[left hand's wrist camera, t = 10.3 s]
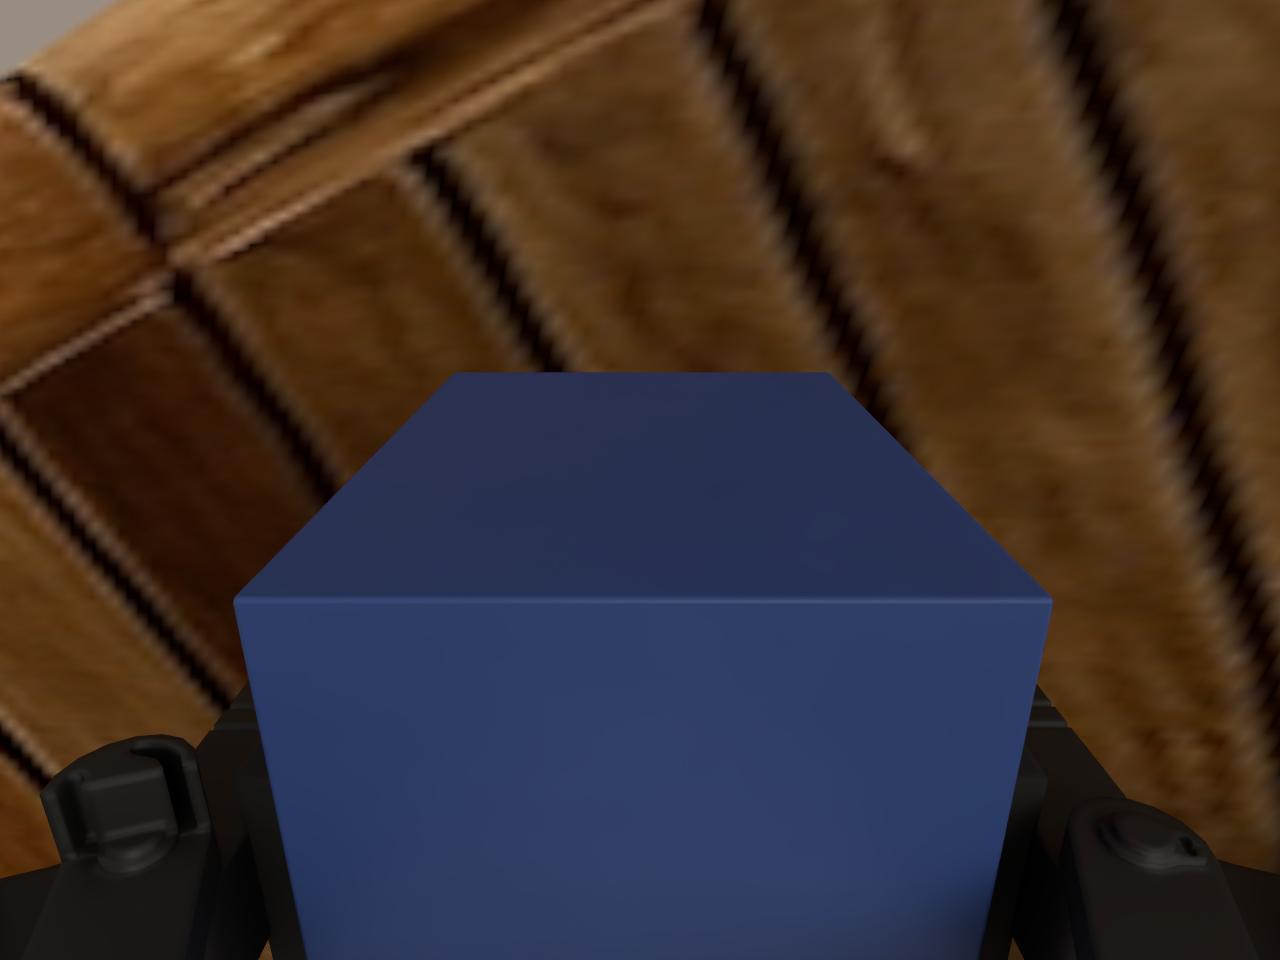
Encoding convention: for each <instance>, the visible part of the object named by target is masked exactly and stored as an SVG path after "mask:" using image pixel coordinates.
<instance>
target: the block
mask: <svg viewBox="0 0 1280 960" xmlns="http://www.w3.org/2000/svg"><path fill="white" fill-rule="evenodd" d="M233 604H234V608H235V613H236V618H237V623H238V628H239V633H240V638H241V643H242V648H243V652H244V657H245V662H246V667H247V672H248V677H249V682H250V687H251V691H252V696H253V701H254V706H255V711H256V716H257V721H258V726H259V730H260V735H261V740H262V745H263V750H264V755H265V760H266V765H267V770H268V774H269V779H270V784H271V789H272V794H273V799H274V804H275V809H276V813H277V818H278V823H279V828H280V833H281V838H282V843H283V848H284V853H285V857H286V862H287V867H288V872H289V877H290V882H291V887H292V892H293V896H294V901H295V906H296V911H297V916H298V921H299V926H300V931H301V935H302V940H303V945H304V950H305V955H306V960H979V957H980V952H981V947H982V942H983V937H984V933H985V928H986V923H987V918H988V913H989V909H990V904H991V899H992V894H993V889H994V885H995V880H996V875H997V870H998V865H999V861H1000V856H1001V851H1002V846H1003V841H1004V837H1005V832H1006V827H1007V822H1008V817H1009V813H1010V808H1011V803H1012V798H1013V793H1014V789H1015V784H1016V779H1017V774H1018V769H1019V765H1020V760H1021V755H1022V750H1023V745H1024V741H1025V736H1026V731H1027V726H1028V721H1029V717H1030V712H1031V707H1032V702H1033V697H1034V693H1035V688H1036V683H1037V678H1038V673H1039V669H1040V664H1041V659H1042V654H1043V649H1044V645H1045V640H1046V635H1047V630H1048V625H1049V621H1050V616H1051V611H1052V606H1053V600H1052V597H1051V596H1050V595H1049V594H1048V593H1047V592H1046V591H1045V590H1044V589H1043V588H1042V587H1041V586H1040V585H1039V584H1038V583H1037V582H1036V581H1035V580H1034V579H1033V578H1032V577H1031V576H1030V575H1029V574H1028V573H1027V572H1026V571H1025V570H1024V569H1023V568H1022V567H1021V566H1020V565H1019V564H1018V563H1017V562H1016V561H1015V560H1014V559H1013V558H1012V557H1011V556H1010V555H1009V554H1008V553H1007V552H1006V551H1005V550H1004V549H1003V548H1002V547H1001V546H1000V545H999V544H998V543H997V542H996V541H995V540H994V539H993V538H992V537H991V536H990V535H989V534H988V533H987V532H986V531H985V530H984V529H983V528H982V527H981V526H980V525H979V524H978V523H977V521H976V520H975V519H974V518H973V517H972V516H971V515H970V514H969V513H968V512H967V511H966V510H965V509H964V508H963V507H962V506H961V505H960V504H959V503H958V502H957V501H956V500H955V499H954V498H953V497H952V496H951V495H950V494H949V493H948V492H947V491H946V490H945V489H944V488H943V487H942V486H941V485H940V484H939V483H938V482H937V481H936V480H935V479H934V478H933V477H932V476H931V475H930V474H929V473H928V472H927V471H926V470H925V469H924V468H923V467H922V466H921V465H920V464H919V463H918V462H917V461H916V460H915V459H914V458H913V457H912V456H911V455H910V454H909V453H908V452H907V451H906V450H905V449H904V448H903V447H902V446H901V445H900V444H899V443H898V442H897V441H896V440H895V439H894V438H893V437H892V436H891V435H890V434H889V433H888V432H887V431H886V430H885V429H884V428H883V427H882V426H881V425H880V424H879V423H878V422H877V421H876V420H875V419H874V418H873V417H872V416H871V415H870V414H869V413H868V412H867V411H866V410H865V409H864V408H863V407H862V406H861V405H860V404H859V403H858V402H857V401H856V400H855V399H854V398H853V397H852V396H851V395H850V394H849V393H848V392H847V391H846V390H845V389H844V388H843V387H842V386H841V385H840V383H839V382H838V381H837V380H836V379H835V378H834V377H833V376H832V375H831V374H830V373H454V374H453V375H452V376H451V377H450V378H449V379H448V380H447V381H446V382H445V383H444V384H443V385H442V386H441V387H440V388H439V389H438V390H437V391H436V392H435V393H434V394H433V395H432V396H431V397H430V398H429V399H428V400H427V401H426V402H425V403H424V404H423V405H422V406H421V407H420V408H419V409H418V411H417V412H416V413H415V414H414V415H413V416H412V417H411V418H410V419H409V420H408V421H407V422H406V423H405V424H404V425H403V426H402V427H401V428H400V429H399V430H398V431H397V432H396V433H395V434H394V435H393V436H392V437H391V438H390V439H389V440H388V441H387V442H386V443H385V444H384V445H383V446H382V447H381V448H380V449H379V450H378V451H377V452H376V453H375V454H374V455H373V456H372V457H371V458H370V459H369V461H368V462H367V463H366V464H365V465H364V466H363V467H362V468H361V469H360V470H359V471H358V472H357V473H356V474H355V475H354V476H353V477H352V478H351V479H350V480H349V481H348V482H347V483H346V484H345V485H344V486H343V487H342V488H341V489H340V490H339V491H338V492H337V493H336V494H335V495H334V496H333V497H332V498H331V499H330V500H329V501H328V502H327V503H326V504H325V505H324V506H323V507H322V508H321V509H320V511H319V512H318V513H317V514H316V515H315V516H314V517H313V518H312V519H311V520H310V521H309V522H308V523H307V524H306V525H305V526H304V527H303V528H302V529H301V530H300V531H299V532H298V533H297V534H296V535H295V536H294V537H293V538H292V539H291V540H290V541H289V542H288V543H287V544H286V545H285V546H284V547H283V548H282V549H281V550H280V551H279V552H278V553H277V554H276V555H275V556H274V557H273V558H272V560H271V561H270V562H269V563H268V564H267V565H266V566H265V567H264V568H263V569H262V570H261V571H260V572H259V573H258V574H257V575H256V576H255V577H254V578H253V579H252V580H251V581H250V582H249V583H248V584H247V585H246V586H245V587H244V588H243V589H242V590H241V591H240V592H239V593H238V594H237V595H236V596H235V598H234V603H233Z"/></svg>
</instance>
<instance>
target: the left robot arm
mask: <svg viewBox="0 0 1280 960" xmlns="http://www.w3.org/2000/svg"><path fill="white" fill-rule="evenodd" d="M40 798H41V801H42V804H43V807H44V810H45V813H46V816H47V819H48V822H49V825H50V828H51V831H52V834H53V837H54V840H55V843H56V846H57V849H58V852H59V855H60V858H61V861H62V863H61V864H57V865H54V866H51V867H48V868H43V869H39V870H35V871H31V872H26V873H22V874H18V875H14V876H9V877H5V878H1V879H0V960H258V959H259V957H260V955H261V953H262V951H263V949H264V947H265V945H266V943H267V941H268V939H269V943H270V948H271V952H272V957H273V960H306V955H305V950H304V945H303V940H302V935H301V931H300V926H299V921H298V916H297V911H296V906H295V901H294V896H293V892H292V887H291V882H290V877H289V872H288V867H287V862H286V857H285V853H284V848H283V843H282V838H281V833H280V828H279V823H278V818H277V813H276V809H275V804H274V799H273V794H272V789H271V784H270V779H269V774H268V770H267V765H266V760H265V755H264V750H263V745H262V740H261V735H260V730H259V726H258V721H257V716H256V711H255V706H254V701H253V696H252V691H251V687H250V682H249V681H248V683H247V684H246V685H245V687H244V688H243V689H242V690H241V692H240V693H239V694H238V695H237V697H236V698H235V699H234V701H233V702H232V703H231V704H230V710H226V711H225V712H224V713H223V715H222V716H221V717H220V718H219V720H218V721H217V722H216V723H215V725H214V730H213V731H209V732H208V734H207V735H206V736H205V737H204V739H203V740H202V741H201V743H200V744H199V745H198V746H197V748H196V749H195V748H194V747H193V746H191V745H190V744H189V743H188V742H187V741H185V740H184V739H183V738H179V737H174V736H169V735H164V734H159V735H147V736H136V737H132V738H129V739H125V740H122V741H118V742H115V743H111V744H108V745H105V746H103V747H101V748H99V749H97V750H95V751H93V752H90V753H88V754H86V755H84V756H82V757H80V758H78V759H77V760H75V761H74V762H73V763H71V764H70V765H69V766H67V767H66V768H64V769H63V770H62V771H60V772H59V773H58V774H56V775H55V776H54V777H53V778H52V780H51V781H50V782H49V783H48V785H47V786H46V787H45V789H44V790H43V791H42V792H41V794H40ZM1012 937H1013V938H1014V940H1015V942H1016V944H1017V946H1018V948H1019V950H1020V952H1021V954H1022V956H1023V958H1024V960H1280V875H1277V874H1273V873H1269V872H1264V871H1260V870H1256V869H1252V868H1247V867H1243V866H1239V865H1235V864H1231V863H1228V862H1224V861H1221V860H1218V859H1216V857H1215V856H1214V854H1213V853H1212V851H1211V850H1210V848H1209V847H1208V845H1207V844H1206V842H1205V841H1204V840H1203V839H1202V838H1201V837H1199V836H1198V835H1197V834H1196V833H1195V832H1193V831H1192V830H1191V829H1190V828H1189V827H1187V826H1186V825H1185V824H1184V823H1183V822H1181V821H1179V820H1177V819H1176V818H1174V817H1172V816H1170V815H1168V814H1166V813H1164V812H1163V811H1161V810H1159V809H1157V808H1155V807H1152V806H1149V805H1146V804H1143V803H1140V802H1136V801H1133V800H1130V799H1127V798H1126V796H1125V795H1124V794H1123V793H1122V791H1121V790H1120V789H1119V788H1118V786H1117V785H1116V784H1115V783H1114V781H1113V780H1112V779H1111V777H1110V776H1109V775H1108V774H1107V772H1106V771H1105V770H1104V769H1103V767H1102V766H1101V765H1100V764H1099V762H1098V761H1097V760H1096V758H1095V757H1094V756H1093V755H1092V753H1091V752H1090V751H1089V750H1088V748H1087V747H1086V746H1085V745H1084V743H1083V742H1082V741H1081V740H1080V738H1079V737H1078V736H1077V734H1076V733H1075V732H1074V731H1073V729H1072V728H1068V727H1067V722H1066V721H1065V719H1064V718H1063V717H1062V715H1061V714H1060V713H1059V712H1058V710H1057V709H1056V708H1055V707H1051V702H1050V700H1049V699H1048V698H1047V696H1046V695H1045V694H1044V693H1043V691H1042V690H1041V689H1040V688H1039V686H1038V685H1037V684H1036V688H1035V693H1034V697H1033V702H1032V707H1031V712H1030V717H1029V721H1028V726H1027V731H1026V736H1025V741H1024V745H1023V750H1022V755H1021V760H1020V765H1019V769H1018V774H1017V779H1016V784H1015V789H1014V793H1013V798H1012V803H1011V808H1010V813H1009V817H1008V822H1007V827H1006V832H1005V837H1004V841H1003V846H1002V851H1001V856H1000V861H999V865H998V870H997V875H996V880H995V885H994V889H993V894H992V899H991V904H990V909H989V913H988V918H987V923H986V928H985V933H984V937H983V942H982V947H981V952H980V957H979V960H1007V959H1008V955H1009V950H1010V946H1011V942H1012Z"/></svg>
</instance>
